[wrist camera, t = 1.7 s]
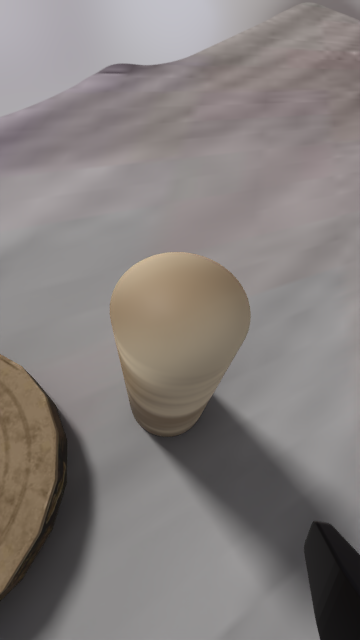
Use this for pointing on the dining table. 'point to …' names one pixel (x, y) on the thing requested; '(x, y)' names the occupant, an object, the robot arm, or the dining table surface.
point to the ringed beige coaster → (27, 471)
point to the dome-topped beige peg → (176, 336)
